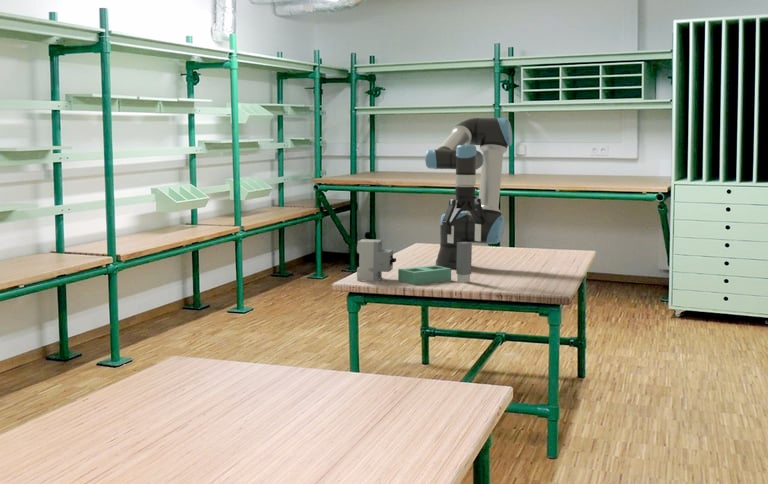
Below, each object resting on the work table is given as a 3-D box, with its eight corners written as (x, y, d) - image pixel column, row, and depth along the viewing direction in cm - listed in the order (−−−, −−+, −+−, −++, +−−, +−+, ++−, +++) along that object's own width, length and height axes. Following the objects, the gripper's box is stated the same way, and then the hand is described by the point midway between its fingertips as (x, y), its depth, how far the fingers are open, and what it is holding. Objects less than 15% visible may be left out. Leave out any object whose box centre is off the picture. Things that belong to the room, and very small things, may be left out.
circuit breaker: (393, 281, 327) (393, 242, 325) (356, 280, 329) (357, 241, 328) (397, 278, 334) (397, 240, 332) (361, 277, 337) (361, 239, 335)
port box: (434, 276, 340) (434, 265, 339) (451, 280, 331) (451, 268, 331) (397, 280, 329) (397, 269, 329) (414, 284, 321) (414, 272, 320)
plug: (464, 280, 331) (464, 241, 329) (471, 281, 328) (471, 242, 326) (456, 281, 329) (456, 242, 327) (463, 282, 326) (463, 243, 324)
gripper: (483, 185, 334) (482, 239, 336) (433, 186, 319) (432, 242, 322) (496, 185, 328) (495, 241, 330) (446, 187, 313) (445, 244, 316)
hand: (464, 242), depth 326 cm, fingers open, 13 cm apart
